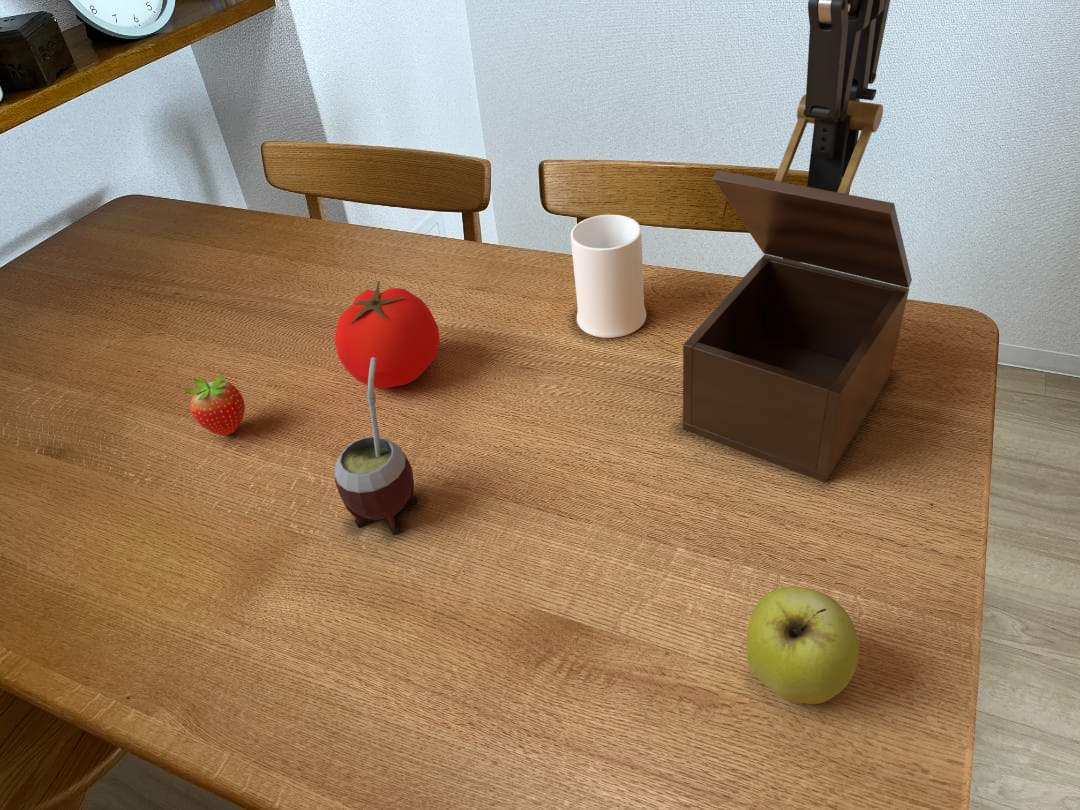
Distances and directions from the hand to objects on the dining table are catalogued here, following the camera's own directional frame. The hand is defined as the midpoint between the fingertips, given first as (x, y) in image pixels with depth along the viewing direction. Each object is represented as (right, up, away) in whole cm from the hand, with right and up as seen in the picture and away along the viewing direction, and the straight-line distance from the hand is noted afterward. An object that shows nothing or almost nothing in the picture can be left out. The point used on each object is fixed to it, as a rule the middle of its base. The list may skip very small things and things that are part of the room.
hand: (829, 180), depth 72 cm
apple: (-6, -41, -10) cm, 43 cm away
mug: (-16, -8, +29) cm, 34 cm away
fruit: (-61, -23, +19) cm, 68 cm away
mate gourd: (-41, -30, +8) cm, 52 cm away
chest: (0, -20, +13) cm, 23 cm away
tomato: (-43, -17, +24) cm, 52 cm away
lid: (0, -5, +2) cm, 5 cm away
